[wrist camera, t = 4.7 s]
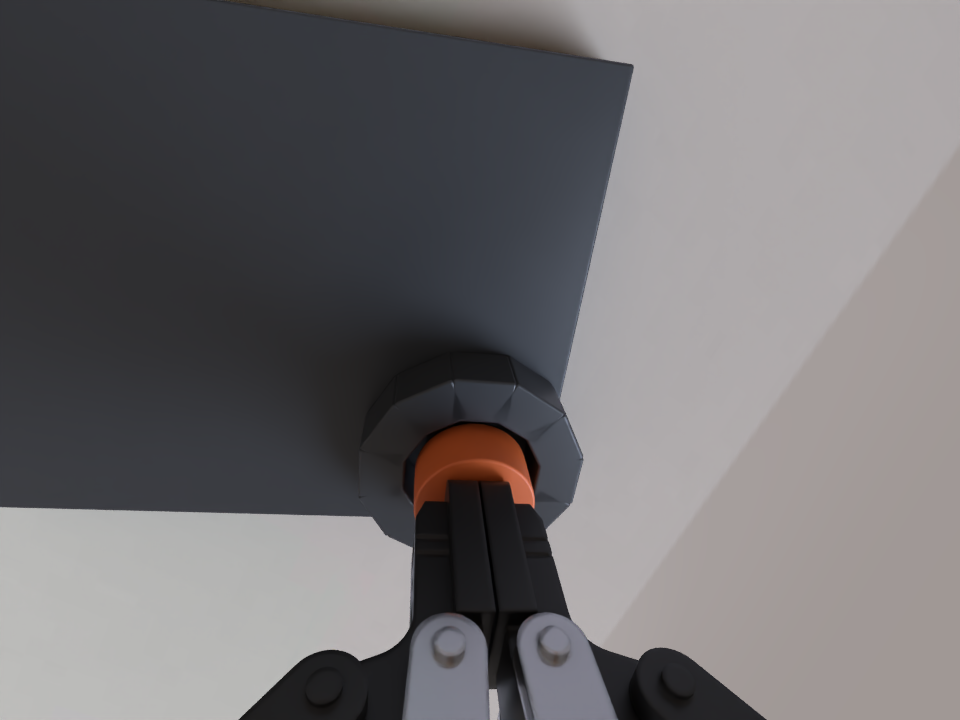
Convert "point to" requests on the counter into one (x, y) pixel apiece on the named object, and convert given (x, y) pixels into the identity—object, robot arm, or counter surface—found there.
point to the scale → (284, 255)
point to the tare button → (470, 463)
